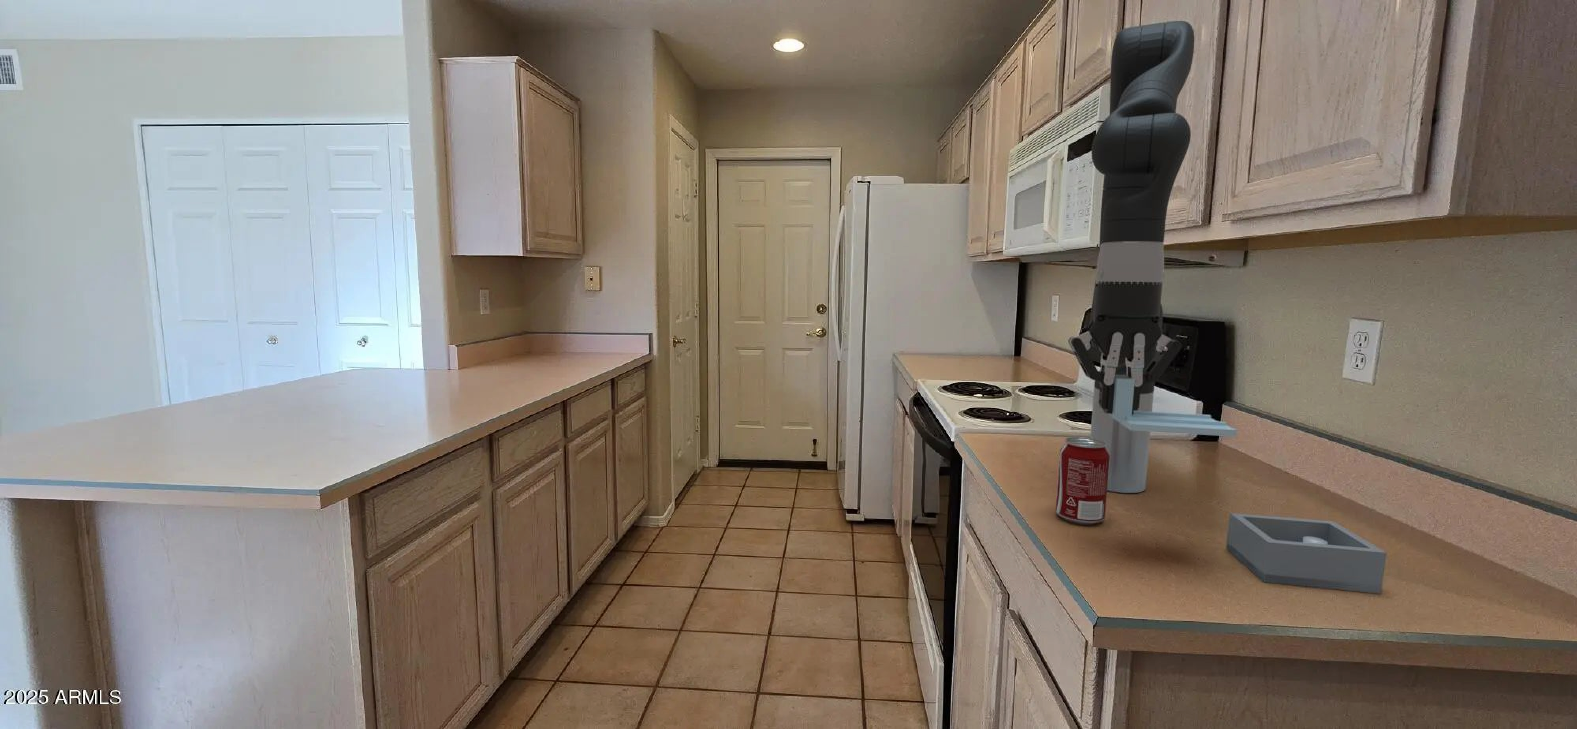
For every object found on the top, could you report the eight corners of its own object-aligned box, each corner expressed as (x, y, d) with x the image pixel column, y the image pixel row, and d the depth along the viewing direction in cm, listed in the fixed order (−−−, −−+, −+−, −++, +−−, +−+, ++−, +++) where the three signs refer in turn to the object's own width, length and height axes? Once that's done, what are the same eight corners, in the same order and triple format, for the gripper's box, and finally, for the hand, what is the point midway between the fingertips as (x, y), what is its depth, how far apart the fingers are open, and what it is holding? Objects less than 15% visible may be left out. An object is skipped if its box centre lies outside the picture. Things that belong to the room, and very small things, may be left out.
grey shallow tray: (1226, 548, 86) (1230, 513, 86) (1328, 557, 84) (1333, 521, 83) (1263, 582, 77) (1268, 542, 76) (1380, 593, 74) (1386, 552, 73)
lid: (1099, 414, 88) (1103, 371, 88) (1202, 420, 86) (1207, 376, 85) (1120, 429, 79) (1124, 381, 78) (1236, 436, 76) (1241, 387, 76)
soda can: (1110, 529, 93) (1116, 448, 91) (1060, 524, 94) (1066, 445, 92) (1097, 512, 99) (1103, 437, 98) (1051, 509, 101) (1056, 434, 99)
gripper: (1177, 280, 83) (1165, 410, 86) (1064, 278, 86) (1055, 405, 88) (1201, 280, 76) (1187, 422, 78) (1077, 278, 79) (1067, 415, 81)
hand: (1117, 412), depth 83 cm, fingers closed on lid
